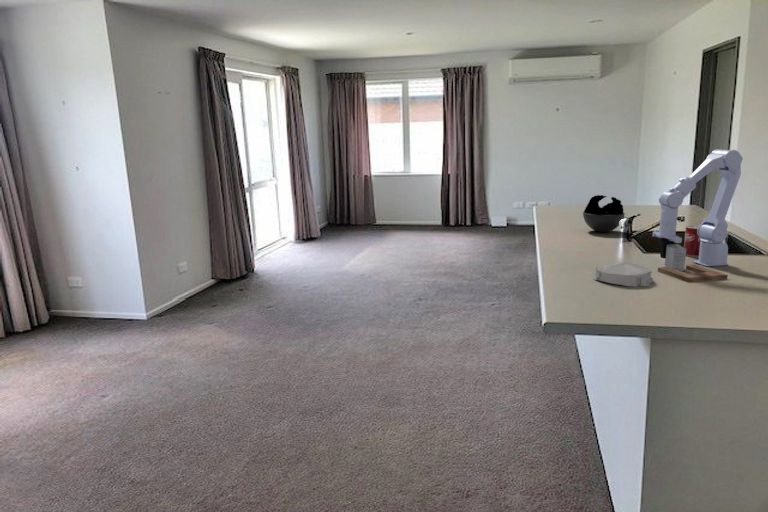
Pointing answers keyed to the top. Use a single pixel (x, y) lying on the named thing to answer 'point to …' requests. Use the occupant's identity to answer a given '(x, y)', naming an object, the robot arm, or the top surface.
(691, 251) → the soda can
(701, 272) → the notched board
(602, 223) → the coal bowl
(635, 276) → the food container
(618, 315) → the top surface
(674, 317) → the top surface
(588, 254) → the top surface
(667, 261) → the medicine box
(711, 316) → the top surface
